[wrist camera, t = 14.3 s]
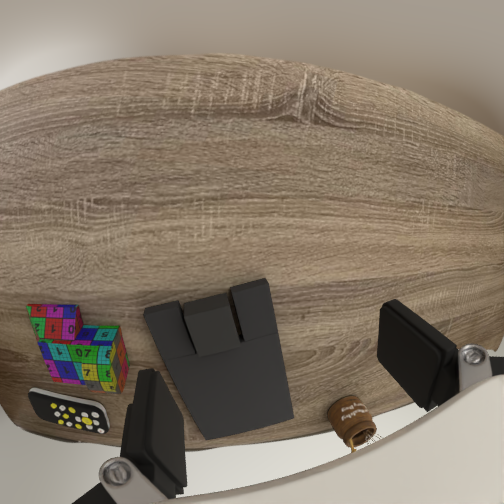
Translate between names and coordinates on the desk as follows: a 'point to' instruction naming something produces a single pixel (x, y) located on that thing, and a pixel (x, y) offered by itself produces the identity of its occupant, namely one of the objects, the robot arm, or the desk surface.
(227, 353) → the big pad
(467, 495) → the robot arm
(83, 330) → the block
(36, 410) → the remote control
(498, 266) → the desk surface
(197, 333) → the small black box
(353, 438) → the utensil holder
